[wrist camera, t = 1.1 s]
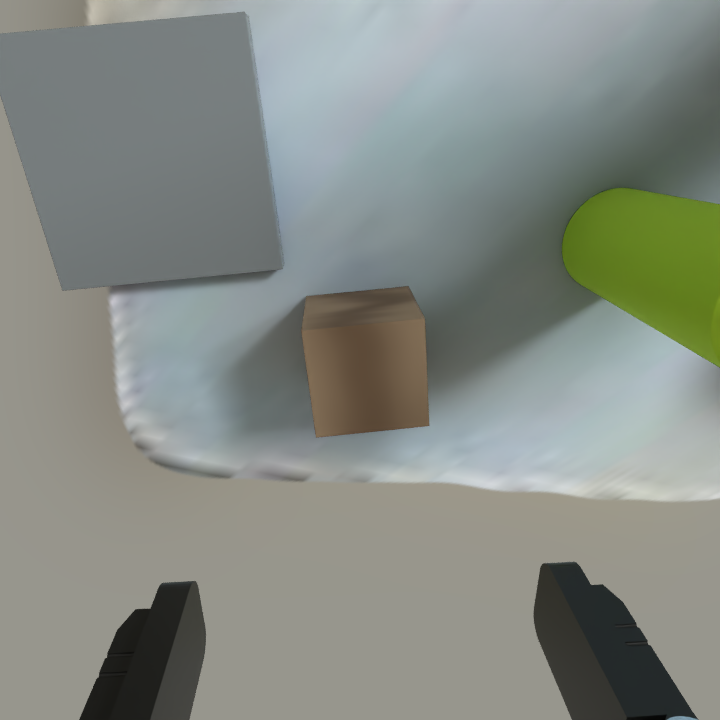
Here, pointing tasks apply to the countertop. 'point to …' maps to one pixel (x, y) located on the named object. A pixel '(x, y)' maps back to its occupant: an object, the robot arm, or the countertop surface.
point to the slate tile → (144, 148)
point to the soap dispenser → (652, 261)
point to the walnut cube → (366, 361)
